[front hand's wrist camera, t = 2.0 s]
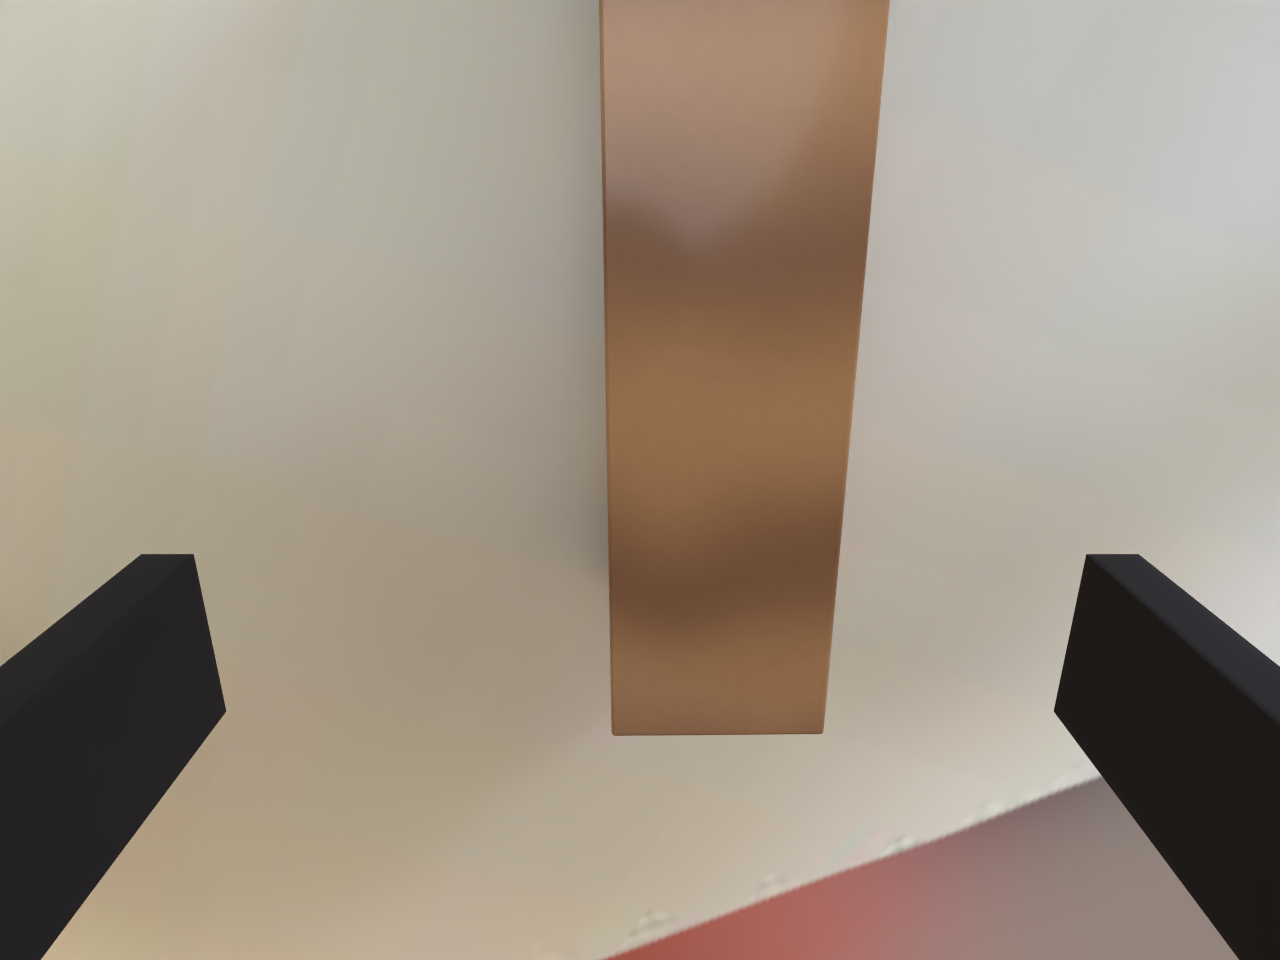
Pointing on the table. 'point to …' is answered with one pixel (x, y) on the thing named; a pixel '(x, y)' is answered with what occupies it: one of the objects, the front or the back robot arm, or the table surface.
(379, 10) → the table surface
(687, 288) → the bar
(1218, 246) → the table surface
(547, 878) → the table surface
